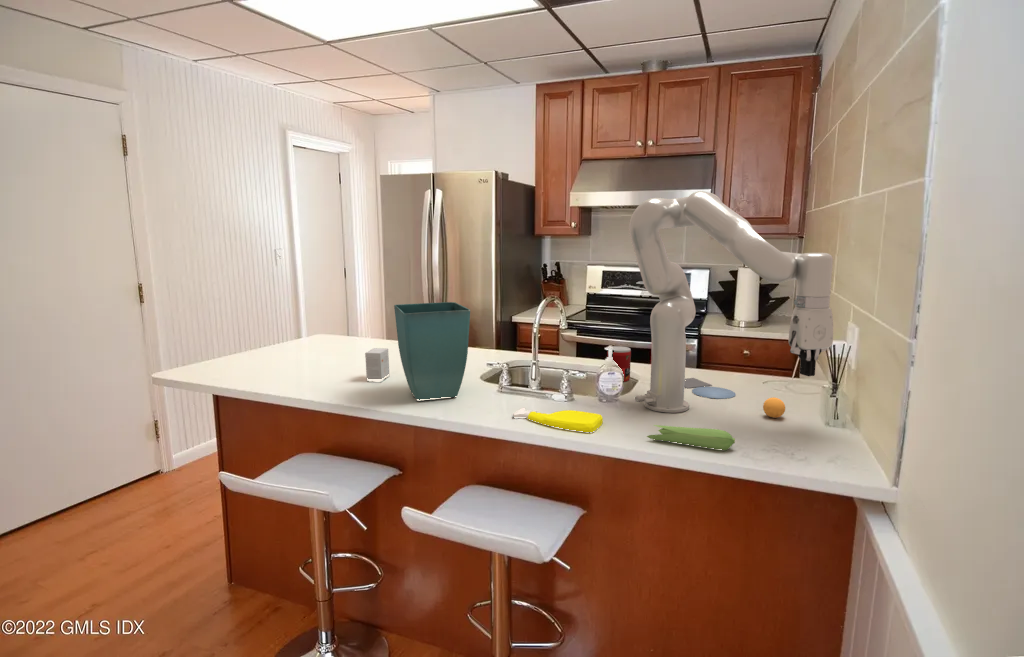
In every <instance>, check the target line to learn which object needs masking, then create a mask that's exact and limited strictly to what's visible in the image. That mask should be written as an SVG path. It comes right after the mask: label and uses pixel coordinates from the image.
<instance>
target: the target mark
mask: <svg viewBox="0 0 1024 657" xmlns="http://www.w3.org/2000/svg"><path fill="white" fill-rule="evenodd" d="M691 392H692V394H694V395H695V394H696V396H698V397H701V396H702V398H705V397H707V399H713V398H715V400H721V399H722V400H727V398H728V399H732V398H735V397H736V395H737V394H736V392H735V391H734V390H732V389H727V388H725V387H724V388H723V387H719V386H718V387H717V386H705V387H696V388H692V390H691Z"/></svg>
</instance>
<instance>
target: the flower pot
mask: <svg viewBox="0 0 1024 657" xmlns="http://www.w3.org/2000/svg"><path fill="white" fill-rule="evenodd" d="M393 307H394V315H395V316H394V318H395V325H396V334H397V344H398V350H399V356H400V361H401V365H402V369H403V372H404V376H405V379H406V382H407V386H408V388H409V391H410V390H411V391H410V392H411V393H413V394H412V395H414V396H415V397H414V396H413V397H414V398H416V399H419V400H420V399H430V398H441V397H455V396H457V397H458V394H459V391H460V389H461V386H462V383H463V379H464V375H465V371H466V367H467V361H468V352H469V336H470V323H471V322H470V321H471V309H470V308H468V307H466V306H464V305H462V304H459V303H458V302H453V301H449V302H448V301H445V302H423V303H422V302H421V303H405V304H404V303H402V304H394V305H393ZM416 399H415V400H416Z"/></svg>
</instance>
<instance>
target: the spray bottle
mask: <svg viewBox="0 0 1024 657" xmlns="http://www.w3.org/2000/svg"><path fill="white" fill-rule="evenodd" d="M512 416H514V417H526V418H528V419H530V420H533V421H536V422H539V423H542V424H546V425H549V426H554V427H559V428H563V429H569V430H576V431H583V432H593V431H595V430H596V429H597V428H598V429H600V428H601V427H602V425H603V423H604V422H603V421H604V417H603V416H602V414H599V413H595V412H587V411H581V410H580V411H579V410H574V409H569V410H567V409H566V410H558V411H555V412H552V413H542V412H538V411H537V410H526V408H525V407H522V408H519V409H517V410H516V411H515V412H513V413H512ZM528 419H527V420H528ZM530 420H529V421H530ZM533 421H532V422H533ZM600 426H601V427H600ZM599 427H600V428H599ZM598 429H597V430H598ZM597 430H596V431H597ZM596 431H595V432H596Z"/></svg>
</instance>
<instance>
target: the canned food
mask: <svg viewBox="0 0 1024 657" xmlns="http://www.w3.org/2000/svg"><path fill="white" fill-rule="evenodd" d="M612 347H613V348H614V349H615V350H614V352H613V360H614V361H615V362H616V363H617V364H618V366H619V367H620V368H621V369H622V371H623V374H624V382H623V383H625V382H628V381H630V378H631V362H632V361H631V357H632V350H631V348H630V347H628V346H621V345H620V346H618V345H614V346H612ZM607 357H608V351H607V352H606V358H607Z"/></svg>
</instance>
